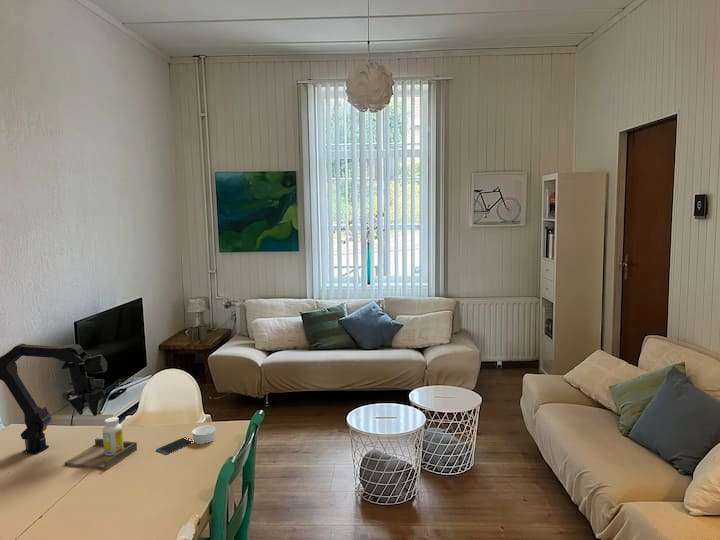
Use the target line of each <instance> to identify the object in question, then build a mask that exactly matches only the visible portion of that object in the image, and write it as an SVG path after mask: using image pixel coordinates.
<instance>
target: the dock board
mask: <svg viewBox="0 0 720 540" xmlns="http://www.w3.org/2000/svg"><path fill="white" fill-rule="evenodd" d="M137 444H138V443H137V442H136V441H125V440H123V445H124V449H123V450H121V451H120V452H118V453H117V454H115V455H113V456H107V455H105V453H104V444H103V438H95V439H94V444H93V445H92V446H90V447H88V448H86V449H85V450H83V451H82V452H80V453H78V454H77V455H75V456H73V457H71V458H69V459H68V460H66V461H64V466H68V465H69V467H79V468H88V469H96V470H104V471H108V470H109V469H111V468H112V467H114V466H116V465H117V464H118V463H120V462H121V461H122V460H124V459H125V458H127V457H129V456H130V455H132V454H133V453H134V452H136V451H138V445H137Z"/></svg>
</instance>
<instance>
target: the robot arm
mask: <svg viewBox="0 0 720 540" xmlns="http://www.w3.org/2000/svg"><path fill="white" fill-rule="evenodd" d="M22 357H33V358H34V357H35V358H36V357H37V358H51V359H56V360H58V361H60V362H64V363H63V365H62V366H61V368H60V369H61V370H65V369H67V371H68V375H69V376H68V377H69V379H70V381H69V382H68V385H69V386H70V385H71V387H72V388H71V389H69V390H66V391H63V393H62V394H61V395H62V400H64V401H65V402H66V403H68V404H69V405H70V407H71V408H73V410H75V412H77V414H78V415H80V416H81V415H83V414H84V410H83V408H84V407H83V401H82V400H84V403H85V405H86V407H87V408H88V410H89V411H90V413H91V414H92V415H93V417H96V416H97V415H98V411H99V404H100V403H99V402H100V400H101V399H102V398H104V396H106V393H105V391H104V389H103V388H105V387H104V385H105V379H96V378H95V377H94V376H92V375H96V374H99V373H105V372H107V371H108V362H107V360H106V358H105V357H104V356H103V354H98V355H94V356H92V355H90V354H89V353H88V352H86V351H85V350H84V349H83V347H82V346H81V344H78V343H72V344H64V345H57V346H56V345H55V346H54V345H42V344H41V345H39V344H29V343H28V344H27V343H20V344H17V345H15V346H13V347H12V349H10V350H9V351H8V352H6V353H5V354H3V355H1V356H0V381H2V382H3V383H4V384H5V386H6V387H7V389H8V391H9V392H10V394H11V395H12V397H13V398H14V400H15V401H16V404H17V405H18V406H19V408H20V409H21V411H22V413H23V417H24V424H25V426H26V429H24V430H23V431H22V432H21V433H20V438H21V439H22V441H23V440H24V445H25V449H24V450H22V451H21V452H27V453H26V454H30V453H34V454H33V455H36V453H37V454H38V452H39V453H41V452H42V451H44V450H46V449H48V448H49V447H50V445H47V442H46V441H47V440H46V434H45V431H46V430H47V427H49V425H50V424H51V422H52V418H51V416H52V414H51V413H50V412H49V411H48V408H47V407H46V406H44V407H43V408H42V407H40V406H38V404H37V403H36V402H35V400H34V398H33V397H32V395H31V394H30V391H28V389H27V387H26V386H25V384H24V383H23V381H22V380H21V378H20V376H19V375H18V374H19V373H18V365H17V363H16V362H17V361H18V360H19V359H21V358H22ZM87 374H88V375H91V376H88V375H87Z"/></svg>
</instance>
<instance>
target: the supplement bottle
mask: <svg viewBox="0 0 720 540" xmlns="http://www.w3.org/2000/svg"><path fill="white" fill-rule="evenodd" d="M119 419H120V418H119V417H116V416H114V417H109V418H106V419H104V425H105V426H103V427H102V439H103V444H104V453H105V455H107V456H113V455H115V454H117V453H118V452H120V451H121V450H123V449H124V445H123V441H124V435H123V434H124V433H123V425H122V424H120V423H119V422H120V420H119Z"/></svg>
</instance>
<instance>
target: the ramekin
mask: <svg viewBox="0 0 720 540" xmlns="http://www.w3.org/2000/svg"><path fill="white" fill-rule="evenodd" d="M191 432H192V433H191V434H192V437H193V438H192V439H193V440H194V442H195V443H194V444H196V443H198V444H197V445H205V444H204V443H207V444H209V443H208V442H210V443H212V442H213V441H214V440H215V438H216V437H215V436H216V435H215V434H216V427H214V426H213V425H201V426H198V427H195V428H194V429H192V431H191ZM211 441H212V442H211Z"/></svg>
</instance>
